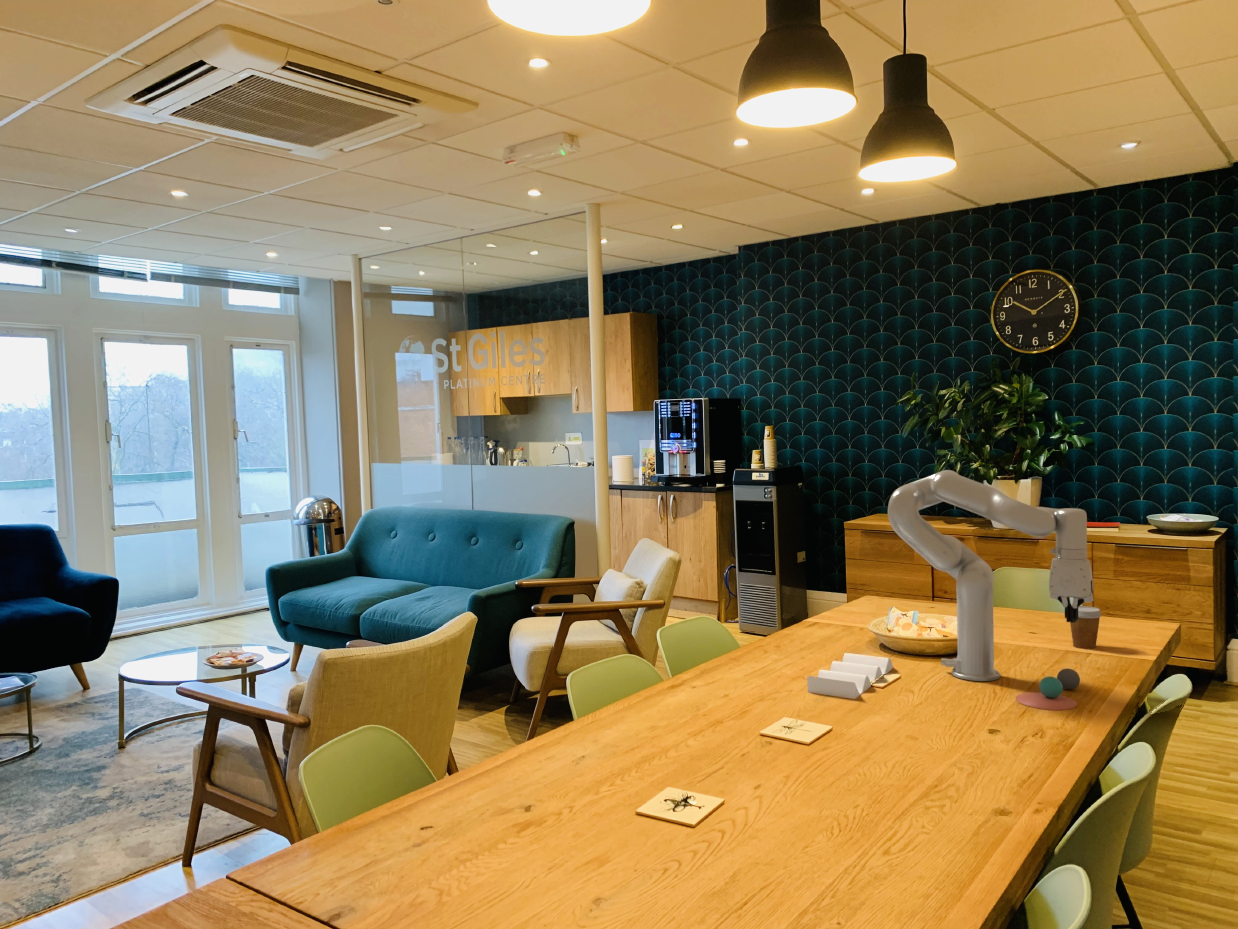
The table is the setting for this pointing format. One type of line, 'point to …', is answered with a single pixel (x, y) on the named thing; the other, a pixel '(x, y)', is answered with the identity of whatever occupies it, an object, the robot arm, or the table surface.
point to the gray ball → (1068, 679)
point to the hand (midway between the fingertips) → (1071, 621)
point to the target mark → (1045, 701)
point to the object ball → (1051, 687)
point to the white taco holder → (849, 675)
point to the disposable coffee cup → (1086, 627)
